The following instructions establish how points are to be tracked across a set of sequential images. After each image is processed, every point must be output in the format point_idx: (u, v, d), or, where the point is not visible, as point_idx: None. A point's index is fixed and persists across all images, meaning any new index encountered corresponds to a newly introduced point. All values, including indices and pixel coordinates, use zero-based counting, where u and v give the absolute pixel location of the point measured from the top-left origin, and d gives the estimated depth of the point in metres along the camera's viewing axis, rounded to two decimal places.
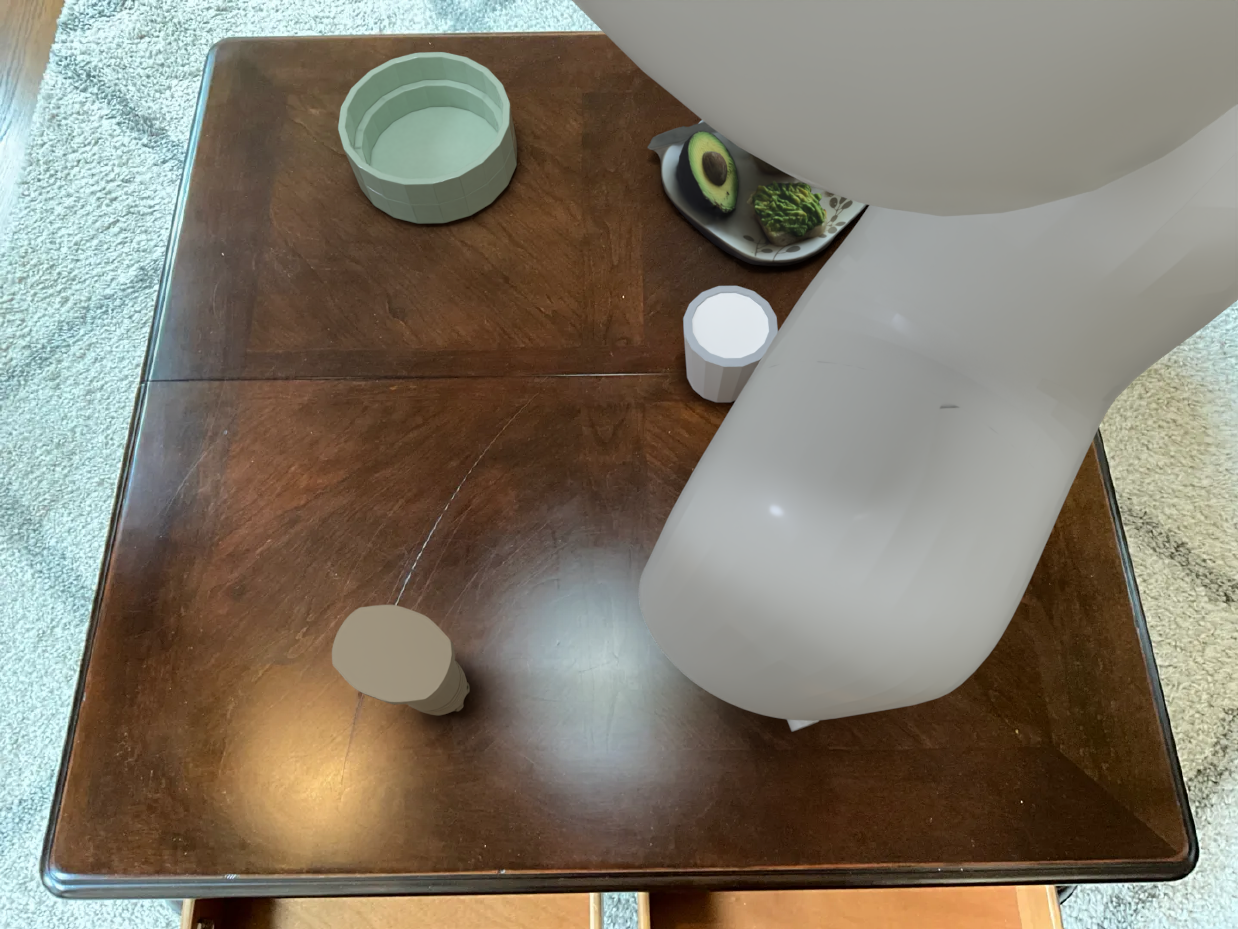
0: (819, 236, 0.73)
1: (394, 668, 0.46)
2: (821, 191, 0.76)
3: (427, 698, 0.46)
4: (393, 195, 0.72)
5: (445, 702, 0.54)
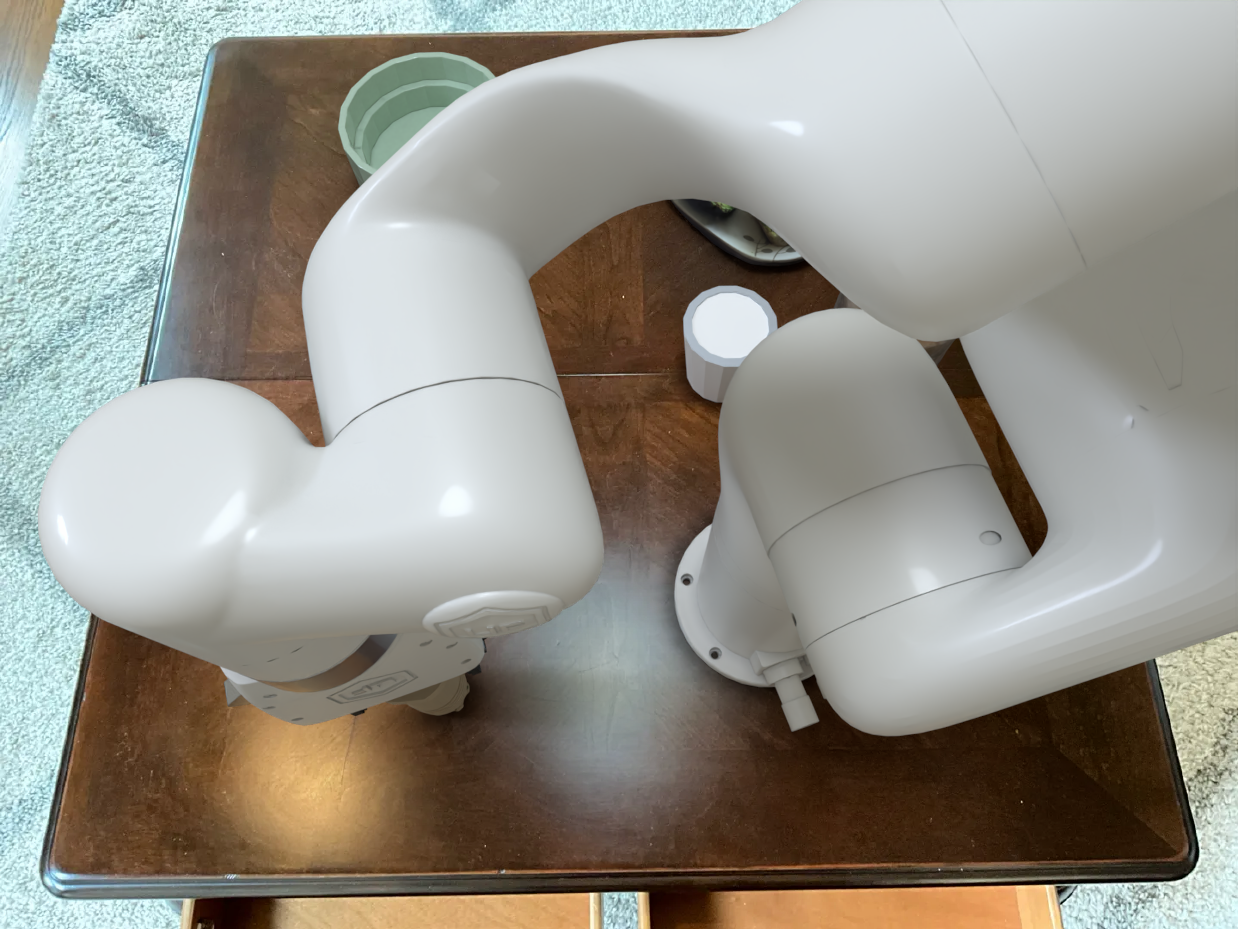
0: None
1: None
2: None
3: (427, 698, 0.46)
4: None
5: (445, 702, 0.54)
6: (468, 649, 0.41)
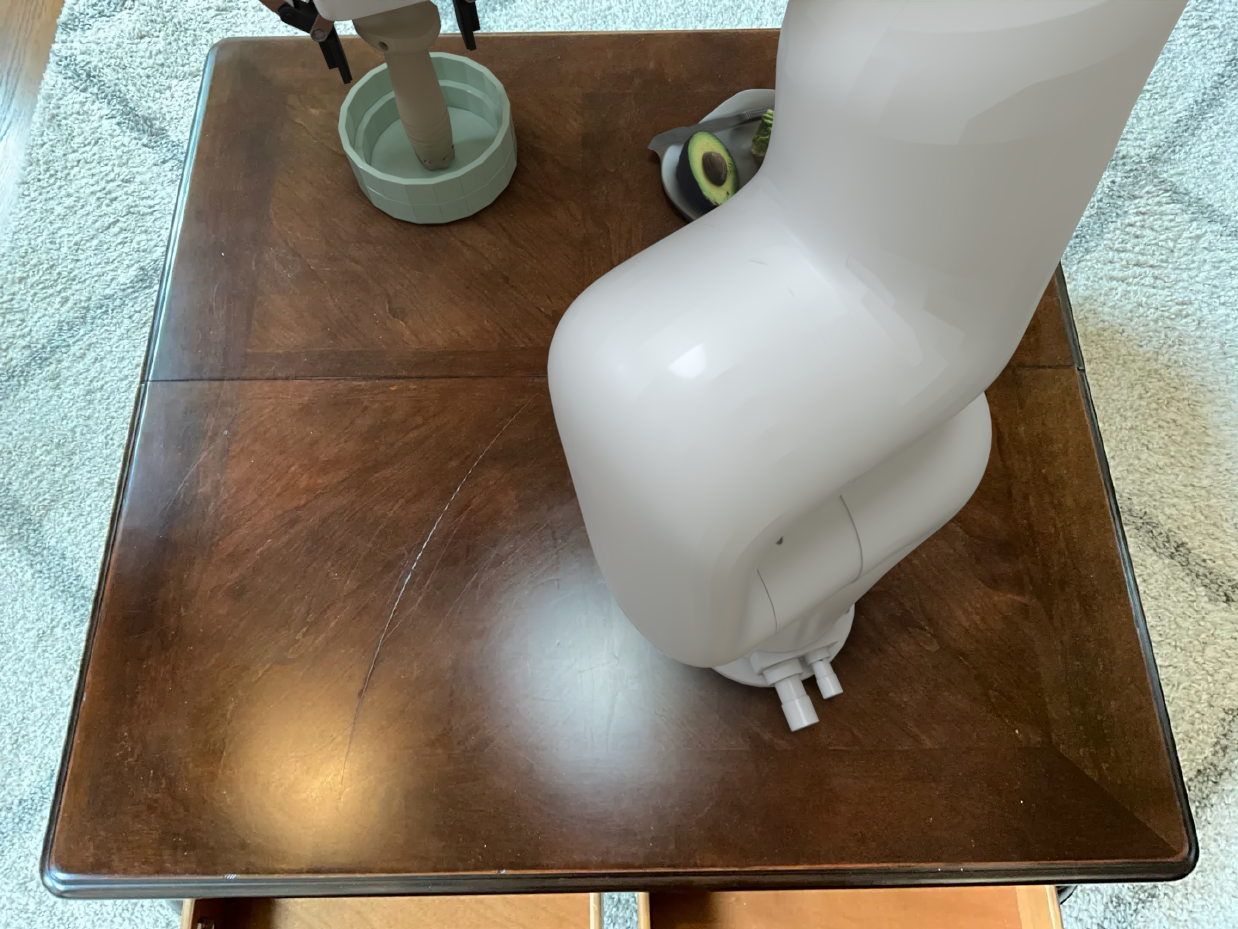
0: None
1: (396, 21, 0.64)
2: None
3: (420, 39, 0.63)
4: (393, 195, 0.72)
5: (435, 117, 0.71)
6: None
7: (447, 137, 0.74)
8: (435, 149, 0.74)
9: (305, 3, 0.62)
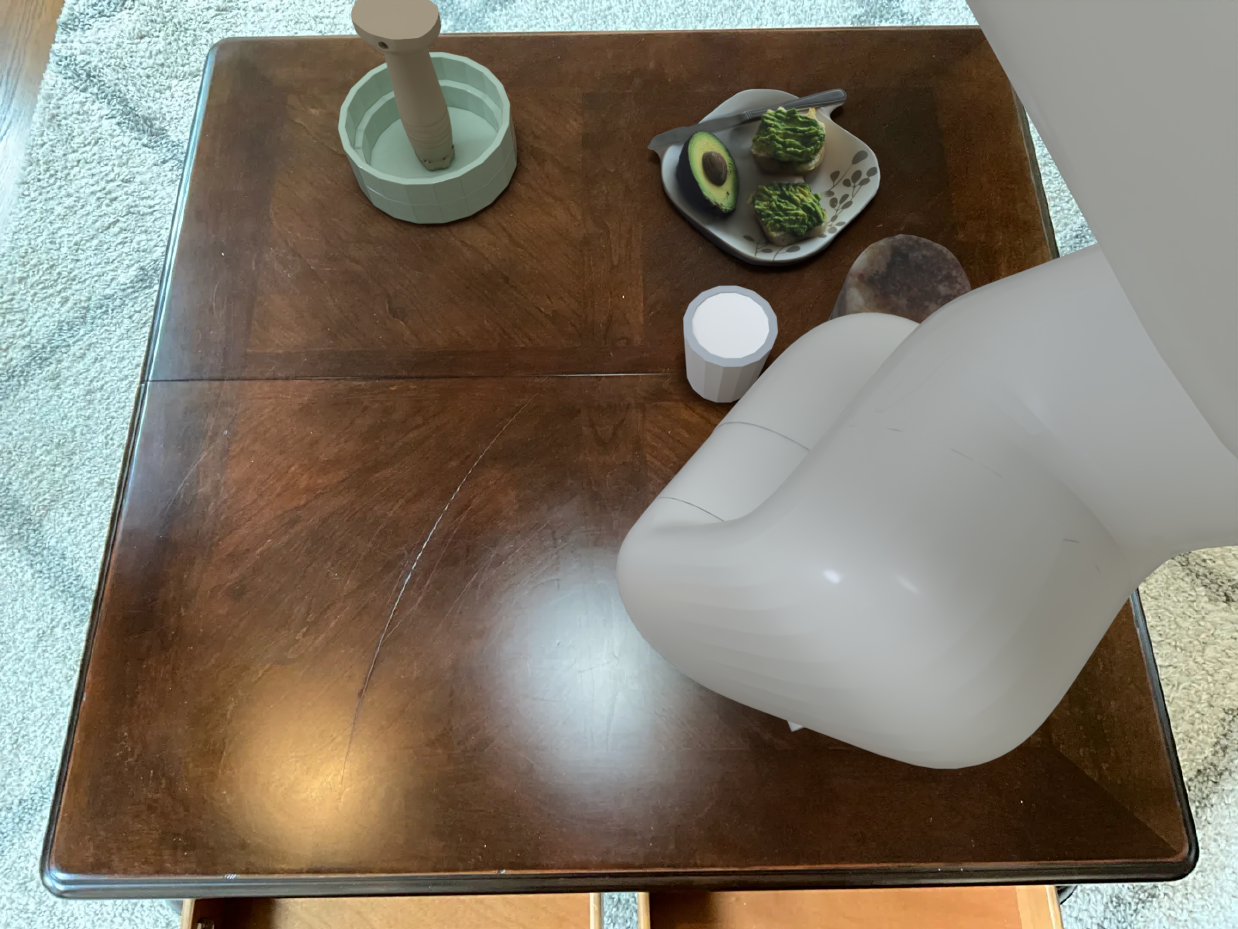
0: (819, 236, 0.73)
1: (396, 21, 0.64)
2: (821, 191, 0.76)
3: (420, 39, 0.63)
4: (393, 195, 0.72)
5: (435, 117, 0.71)
6: None
7: (447, 137, 0.74)
8: (435, 149, 0.74)
9: None
